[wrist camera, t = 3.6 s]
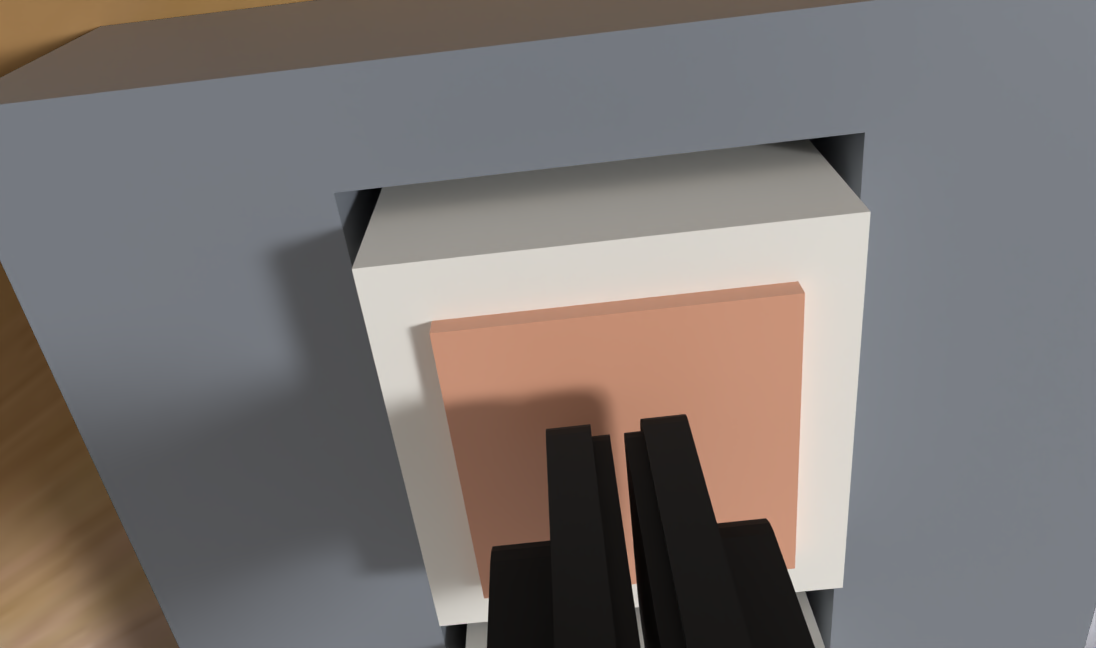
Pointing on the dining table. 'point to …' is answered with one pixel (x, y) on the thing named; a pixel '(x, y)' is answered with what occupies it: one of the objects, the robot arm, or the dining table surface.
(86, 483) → the dining table surface
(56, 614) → the dining table surface
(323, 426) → the keypad
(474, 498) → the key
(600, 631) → the robot arm
